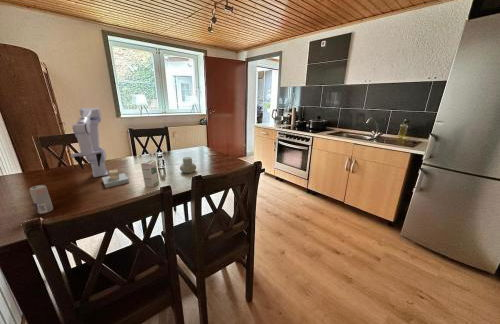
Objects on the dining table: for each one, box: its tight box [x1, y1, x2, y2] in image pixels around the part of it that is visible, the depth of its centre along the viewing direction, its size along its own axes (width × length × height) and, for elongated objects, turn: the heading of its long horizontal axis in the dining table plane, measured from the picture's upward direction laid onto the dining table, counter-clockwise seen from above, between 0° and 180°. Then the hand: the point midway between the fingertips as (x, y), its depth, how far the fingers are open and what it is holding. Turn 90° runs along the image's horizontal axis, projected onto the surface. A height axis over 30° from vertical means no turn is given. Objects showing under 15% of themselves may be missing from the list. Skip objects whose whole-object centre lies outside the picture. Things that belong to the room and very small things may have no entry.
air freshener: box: [179, 156, 197, 174], centre depth 141 cm, size 11×8×10 cm
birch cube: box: [108, 169, 120, 180], centre depth 123 cm, size 4×4×4 cm
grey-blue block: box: [101, 173, 130, 189], centre depth 124 cm, size 12×12×3 cm
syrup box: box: [140, 159, 160, 188], centre depth 119 cm, size 6×6×14 cm
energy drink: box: [29, 184, 54, 215], centre depth 91 cm, size 5×5×12 cm
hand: (91, 167), depth 120 cm, fingers open, 7 cm apart
